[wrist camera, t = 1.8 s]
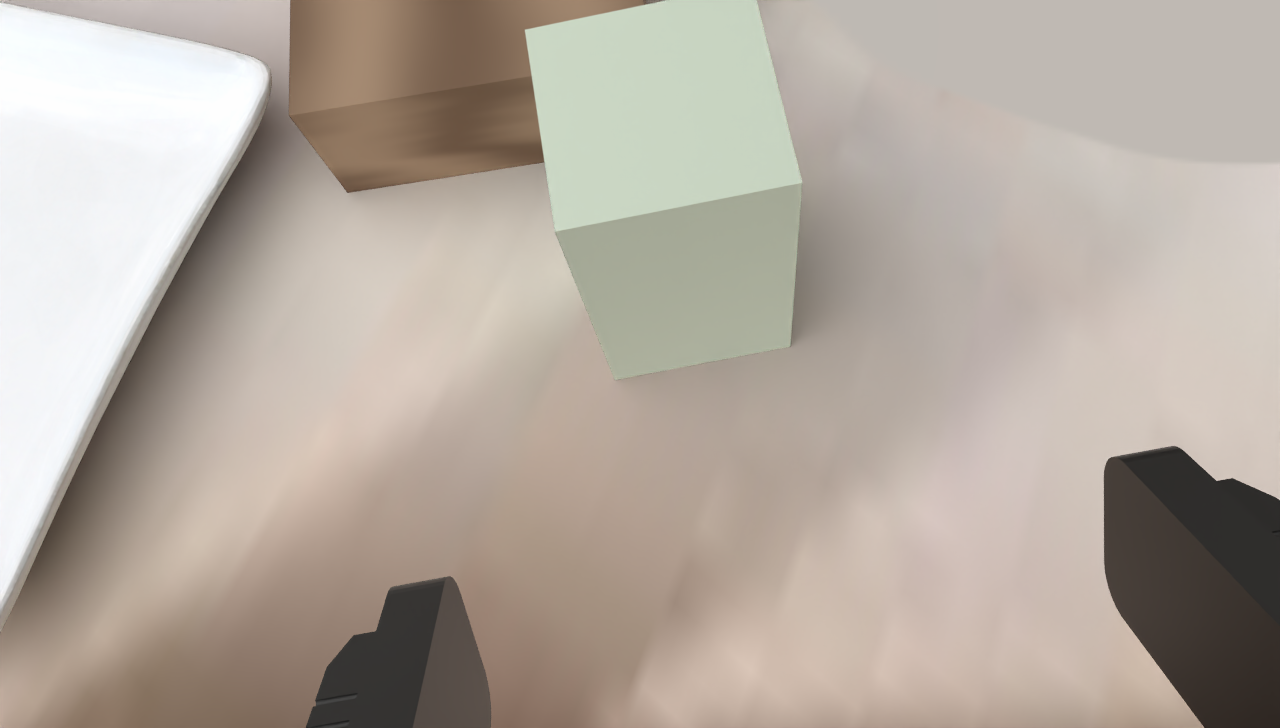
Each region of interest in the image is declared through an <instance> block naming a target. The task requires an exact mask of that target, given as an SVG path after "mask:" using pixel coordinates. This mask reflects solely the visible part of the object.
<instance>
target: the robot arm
mask: <svg viewBox="0 0 1280 728" xmlns="http://www.w3.org/2000/svg"><path fill="white" fill-rule="evenodd" d="M1104 564H1105V574H1106V579H1107V583H1108V587H1109V590H1110V593H1111V596H1112V598H1113V601H1114V603H1115V605H1116V607H1117V609H1118V611H1119V613H1120V614H1121V616H1122V617H1123V619H1124V620H1125V622H1126V623H1127V624H1128V626H1129V627H1130V628H1131V630H1132V631H1133V632H1134V634H1135V635H1136V636H1137V638H1138V639H1139V640H1140V642H1141V643H1142V644H1143V646H1144V647H1145V648H1146V650H1147V651H1148V652H1149V654H1150V655H1151V656H1152V658H1153V659H1154V661H1155V662H1156V663H1157V665H1158V666H1159V667H1160V669H1161V670H1162V671H1163V673H1164V674H1165V675H1166V677H1167V678H1168V679H1169V681H1170V682H1171V683H1172V685H1173V686H1174V687H1175V689H1176V690H1177V691H1178V693H1179V694H1180V695H1181V697H1182V698H1183V699H1184V701H1185V702H1186V704H1187V705H1188V706H1189V708H1190V709H1191V710H1192V712H1193V713H1194V714H1195V716H1196V717H1197V718H1198V720H1199V721H1200V722H1201V724H1202V725H1203V726H1204V728H1280V500H1278V499H1277V498H1275V497H1273V496H1271V495H1269V494H1266V493H1264V492H1262V491H1260V490H1257V489H1255V488H1253V487H1251V486H1249V485H1246V484H1244V483H1242V482H1240V481H1237V480H1235V479H1233V478H1231V479H1226V480H1220V481H1216V480H1215V479H1214V478H1212V477H1211V476H1210V475H1209V474H1208V473H1207V472H1206V471H1205V470H1204V469H1203V468H1202V467H1201V466H1199V465H1198V464H1197V463H1196V462H1195V461H1194V460H1193V459H1192V458H1191V457H1190V456H1189V455H1188V454H1186V453H1185V452H1184V451H1183V450H1182V449H1180V448H1178V447H1176V446H1171V447H1165V448H1160V449H1154V450H1149V451H1143V452H1138V453H1132V454H1127V455H1121V456H1116V457H1111V458H1110V459H1108V461H1107V463H1106V466H1105V470H1104ZM315 701H316V706H315V707H313V708H312V711H311V714H310V717H309V720H308V723H307V725H306V728H491V702H490V693H489V687H488V681H487V677H486V673H485V670H484V666H483V663H482V660H481V657H480V654H479V651H478V647H477V644H476V641H475V638H474V635H473V632H472V629H471V625H470V622H469V619H468V616H467V613H466V610H465V606H464V603H463V600H462V597H461V594H460V591H459V588H458V586H457V584H456V582H455V580H454V579H453V578H452V577H451V576H449V577H443V578H438V579H432V580H427V581H421V582H416V583H410V584H405V585H399V586H394V587H392V588H390V590H389V591H388V594H387V597H386V600H385V604H384V607H383V610H382V614H381V617H380V620H379V624H378V627H377V630H376V631H375V632H370V633H364V634H359V635H354V636H353V637H352V638H351V639H350V640H349V641H348V643H347V644H346V645H345V646H344V647H343V649H342V650H341V651H340V652H339V653H338V655H337V656H336V657H335V658H334V659H333V661H332V662H331V663H330V664H329V665H328V666H327V668H326V671H325V674H324V677H323V680H322V683H321V685H320V688H319V691H318V694H317V697H316V700H315Z"/></svg>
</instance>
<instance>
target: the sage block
mask: <svg viewBox="0 0 1280 728" xmlns="http://www.w3.org/2000/svg"><path fill="white" fill-rule="evenodd" d="M525 34H526V41H527V48H528V54H529V61H530V68H531V75H532V81H533V88H534V95H535V101H536V108H537V115H538V122H539V128H540V135H541V142H542V149H543V155H544V162H545V169H546V175H547V182H548V189H549V196H550V202H551V209H552V216H553V222H554V229H555V233H556V236H557V238H558V241H559V243H560V246H561V248H562V251H563V253H564V256H565V258H566V260H567V263H568V265H569V268H570V270H571V273H572V275H573V278H574V280H575V283H576V285H577V288H578V290H579V293H580V295H581V298H582V300H583V302H584V305H585V307H586V310H587V312H588V315H589V317H590V320H591V322H592V325H593V327H594V330H595V332H596V335H597V337H598V340H599V342H600V344H601V347H602V349H603V352H604V354H605V357H606V359H607V362H608V364H609V367H610V369H611V372H612V374H613V377H614V379H615V380H619V379H624V378H629V377H634V376H640V375H645V374H650V373H655V372H661V371H666V370H671V369H676V368H682V367H687V366H692V365H697V364H703V363H708V362H713V361H718V360H724V359H729V358H734V357H739V356H745V355H750V354H755V353H760V352H765V351H771V350H776V349H781V348H786V347H790V345H791V331H792V318H793V304H794V290H795V277H796V263H797V249H798V236H799V222H800V209H801V195H802V179H801V175H800V171H799V167H798V163H797V159H796V155H795V151H794V147H793V143H792V139H791V135H790V131H789V127H788V123H787V119H786V115H785V111H784V107H783V103H782V99H781V95H780V91H779V87H778V83H777V79H776V75H775V71H774V67H773V63H772V59H771V55H770V51H769V47H768V43H767V39H766V35H765V31H764V27H763V23H762V19H761V15H760V11H759V7H758V3H757V0H666V1H661V2H656V3H651V4H646V5H642V6H637V7H632V8H627V9H622V10H617V11H613V12H608V13H603V14H598V15H593V16H589V17H584V18H579V19H574V20H569V21H564V22H560V23H555V24H550V25H545V26H540V27H536V28H531V29H526V30H525Z"/></svg>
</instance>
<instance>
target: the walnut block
mask: <svg viewBox="0 0 1280 728" xmlns="http://www.w3.org/2000/svg"><path fill="white" fill-rule="evenodd" d="M642 5H646V0H291V1H290V72H289V116H290V118H291V119H292V120H293V122H294V123H295V124H296V125H297V127H298V128H299V129H300V131H301V132H302V133H303V135H304V136H305V137H306V139H307V140H308V141H309V143H310V144H311V145H312V147H313V148H314V149H315V150H316V152H317V153H318V154H319V156H320V157H321V158H322V160H323V161H324V162H325V164H326V165H327V166H328V168H329V169H330V170H331V172H332V173H333V174H334V175H335V177H336V178H337V179H338V181H339V182H340V183H341V185H342V186H343V187H344V189H345V190H346V191H347V193H349V192H356V191H362V190H369V189H375V188H382V187H388V186H394V185H401V184H407V183H414V182H420V181H427V180H433V179H440V178H446V177H453V176H459V175H465V174H472V173H478V172H485V171H491V170H498V169H504V168H511V167H517V166H524V165H530V164H536V163H543V162H544V155H543V149H542V142H541V135H540V128H539V122H538V115H537V108H536V101H535V95H534V88H533V81H532V75H531V68H530V61H529V54H528V48H527V41H526V34H525V30H526V29H531V28H536V27H540V26H545V25H550V24H555V23H560V22H564V21H569V20H574V19H579V18H584V17H589V16H593V15H598V14H603V13H608V12H613V11H617V10H622V9H627V8H632V7H637V6H642Z"/></svg>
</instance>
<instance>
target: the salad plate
mask: <svg viewBox="0 0 1280 728" xmlns="http://www.w3.org/2000/svg"><path fill="white" fill-rule="evenodd" d="M271 86H272V76H271V70H270V68H269V67H268V65H266V64H265V63H264V62H262V61H261V60H259V59H256V58H254V57H252V56H250V55H246V54H242V53H239V52H236V51H232V50H229V49H225V48H221V47H217V46H213V45H209V44H205V43H200V42H196V41H191V40H187V39H182V38H177V37H172V36H167V35H162V34H158V33H153V32H148V31H143V30H138V29H133V28H128V27H123V26H118V25H113V24H108V23H103V22H98V21H93V20H88V19H82V18H76V17H72V16H68V15H62V14H57V13H52V12H47V11H42V10H37V9H32V8H27V7H22V6H17V5H13V4H8V3H3V2H0V632H1V630H2V629H3V626H4V624H5V622H6V620H7V618H8V616H9V614H10V612H11V610H12V608H13V606H14V604H15V602H16V600H17V598H18V596H19V594H20V591H21V589H22V587H23V585H24V583H25V580H26V578H27V576H28V574H29V572H30V569H31V567H32V565H33V563H34V560H35V558H36V556H37V554H38V551H39V549H40V547H41V545H42V542H43V540H44V538H45V536H46V534H47V531H48V529H49V527H50V525H51V523H52V521H53V518H54V516H55V514H56V512H57V510H58V508H59V506H60V503H61V501H62V499H63V497H64V495H65V493H66V490H67V488H68V486H69V484H70V482H71V480H72V478H73V475H74V473H75V471H76V469H77V467H78V465H79V463H80V461H81V459H82V457H83V455H84V453H85V451H86V449H87V446H88V444H89V442H90V440H91V438H92V436H93V434H94V432H95V430H96V428H97V426H98V424H99V422H100V420H101V418H102V416H103V414H104V412H105V410H106V408H107V406H108V404H109V402H110V400H111V398H112V396H113V394H114V392H115V390H116V388H117V386H118V384H119V382H120V380H121V378H122V376H123V374H124V372H125V370H126V368H127V366H128V364H129V362H130V360H131V358H132V356H133V354H134V352H135V350H136V348H137V347H138V345H139V343H140V341H141V339H142V337H143V335H144V333H145V331H146V329H147V327H148V325H149V323H150V321H151V319H152V317H153V315H154V313H155V311H156V309H157V307H158V306H159V304H160V302H161V300H162V298H163V296H164V294H165V292H166V291H167V289H168V287H169V285H170V283H171V281H172V280H173V278H174V276H175V274H176V272H177V270H178V269H179V267H180V265H181V263H182V261H183V259H184V258H185V256H186V254H187V252H188V250H189V249H190V247H191V245H192V243H193V241H194V240H195V238H196V236H197V234H198V232H199V230H200V229H201V227H202V225H203V223H204V221H205V220H206V218H207V216H208V214H209V212H210V211H211V209H212V207H213V205H214V203H215V202H216V200H217V198H218V197H219V195H220V193H221V192H222V190H223V188H224V187H225V185H226V183H227V181H228V180H229V178H230V176H231V175H232V173H233V171H234V170H235V168H236V166H237V165H238V163H239V161H240V159H241V158H242V156H243V154H244V153H245V151H246V149H247V147H248V145H249V143H250V142H251V140H252V138H253V136H254V134H255V132H256V130H257V128H258V126H259V124H260V122H261V119H262V117H263V114H264V112H265V110H266V106H267V103H268V99H269V96H270V91H271Z"/></svg>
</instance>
